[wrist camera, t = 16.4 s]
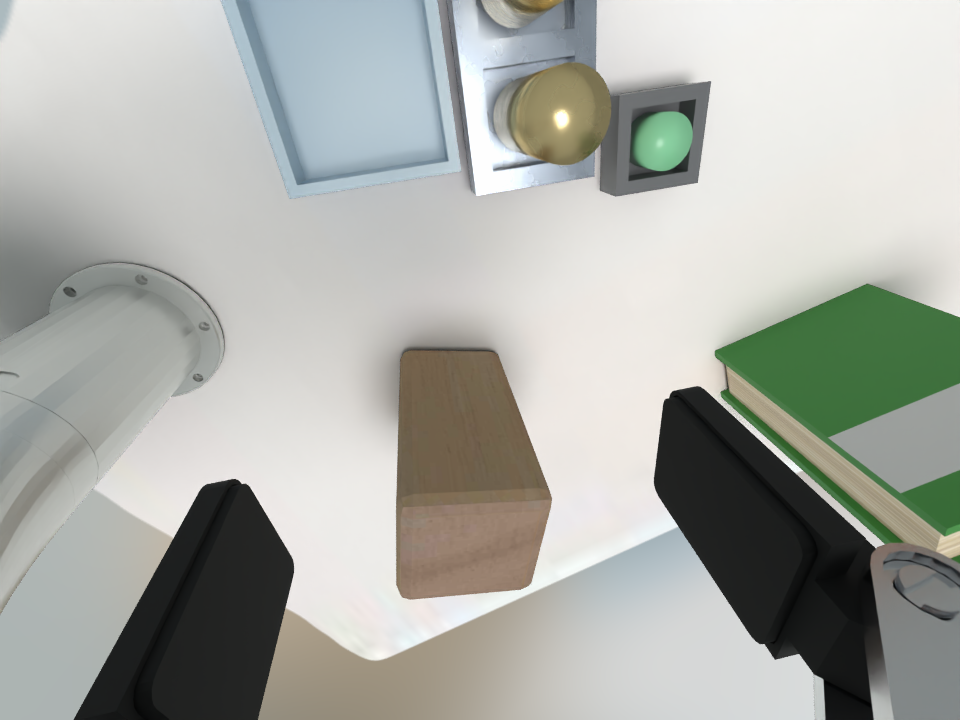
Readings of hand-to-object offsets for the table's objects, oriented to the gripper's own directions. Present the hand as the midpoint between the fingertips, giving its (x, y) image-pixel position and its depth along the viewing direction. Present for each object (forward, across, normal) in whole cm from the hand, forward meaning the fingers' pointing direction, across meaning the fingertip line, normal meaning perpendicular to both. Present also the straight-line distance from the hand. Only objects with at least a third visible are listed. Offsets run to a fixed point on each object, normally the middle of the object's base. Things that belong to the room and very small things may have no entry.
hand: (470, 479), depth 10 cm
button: (+29, -19, -3) cm, 35 cm away
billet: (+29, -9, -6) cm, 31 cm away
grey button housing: (+30, -19, -3) cm, 36 cm away
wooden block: (+31, +1, +18) cm, 35 cm away
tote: (+30, +3, -10) cm, 32 cm away
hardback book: (+31, -39, +21) cm, 54 cm away
